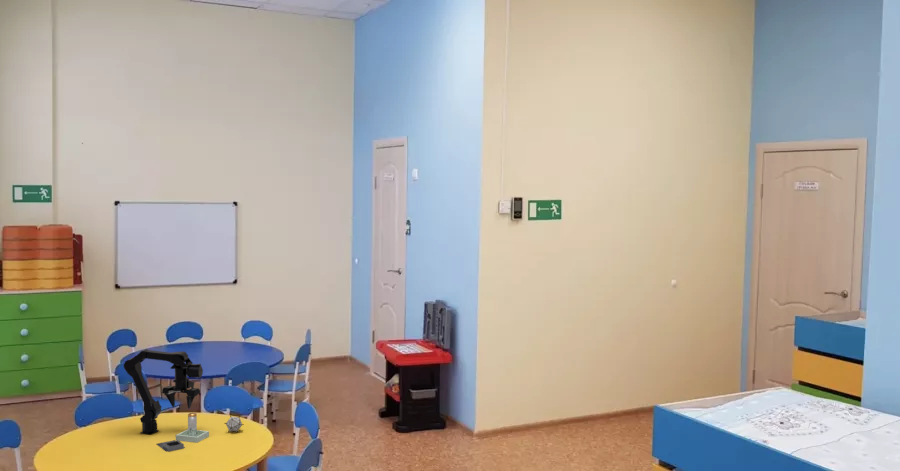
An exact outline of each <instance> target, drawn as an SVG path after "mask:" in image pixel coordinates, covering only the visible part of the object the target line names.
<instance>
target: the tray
mask: <svg viewBox="0 0 900 471" xmlns="http://www.w3.org/2000/svg"><path fill="white" fill-rule="evenodd" d="M209 437H210V431H209V430H201V429H200V430H198V429H197V437H195V436H188V428H187V429H185V430H183V431H181V432H179V433H177V434H175V441H177V440H178V441H180V442H186V443H187V442H189V443H200V442H201V441H203V440H204V439H207V438H209Z"/></svg>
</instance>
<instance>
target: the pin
mask: <svg viewBox="0 0 900 471" xmlns="http://www.w3.org/2000/svg"><path fill="white" fill-rule="evenodd" d="M197 415H198V413H197V412H190V413H188V414H187V429H188V436H195V437H197V430H198V428H197V427H198V426H197V424H198V422H197V421H198V419H197V418H198V416H197Z"/></svg>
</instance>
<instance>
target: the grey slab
mask: <svg viewBox="0 0 900 471" xmlns="http://www.w3.org/2000/svg"><path fill="white" fill-rule="evenodd" d="M155 445H156V446H158V447H159V448H160V449H162V450H163V451H164V452H173V451H178V450H182V449H186V447H185V444H184V443H182V441H178V440H176V439H174V440H169V441H163V442H159V443H156V444H155Z"/></svg>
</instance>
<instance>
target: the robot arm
mask: <svg viewBox="0 0 900 471" xmlns="http://www.w3.org/2000/svg"><path fill="white" fill-rule="evenodd" d="M146 359H148V360H155V361H162V362H163V361H165V362H169V363H170V364H173V365H172V366H171V367H170V370H174V379H173V383H174V385H166V386H164V387H162V390H161V393H162V394H164V396H166V399H167V400H168V401H169V403H170V405H171V407H172V408H174V407H175V406H176V405H175V404H176V402H175V401H176V399H175V398H176V394H177V393H181V394H182V393H183V394H186V395H187V396H186V403H187V404H186V405H187V408H188V409H189V410H190V409H191V407H192V404H193V401H194V399H195V397H197V396H198V395H200V394H201V389H200V388H199V387H194V386H195V381H192V380H189V378H194V379H195V378H196V379H198V378H202V377H203V373H204V370H203V367H202V364H201V363H193V361H192V360H191V358H190V357H189V354H188V353H187V352H186V351H183V350H182V351H173V352H169V351H159V350H151V349H150V350H149V349H146V348H145V349H143V350H141V351H140V352H139V353H137V355H135V356H134V357H131V358H129V359H127V360H125V361H124V363H123V369H124V370H125V371H126V374H127V375H129V376H130V377H131V378H132V381H133V382H134V385H135V386H136V389H137V392H138V394H139V396H140V399H141V400H142V402H143V412H144V414H143V415H142V416H141V417H140V418H139V420H140V422H141V425H142V426H141V431H140V434H141V435H142V434H144V435H152V434H155V433H157V432H159V429H158V422H157V419H158V416H159V415H160V414H161V412H162V405H161V404H160V401H159V399H158V400H155V399H154V398H153V396H152V393H151V392H150V389H149V386H148V385H147V381H146V380H145V377H144V375H143V373H142V372H143V369H142V368H143V367H142V363H143V361H144V360H146Z"/></svg>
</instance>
